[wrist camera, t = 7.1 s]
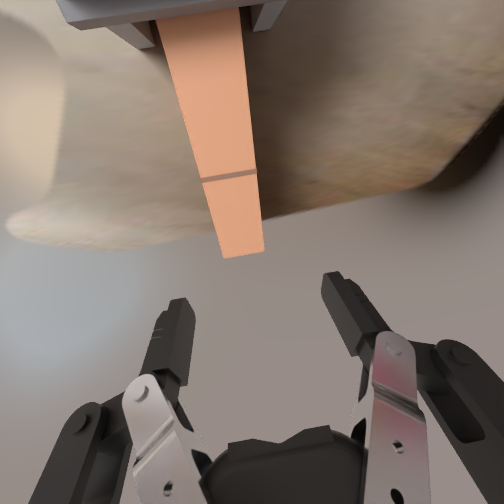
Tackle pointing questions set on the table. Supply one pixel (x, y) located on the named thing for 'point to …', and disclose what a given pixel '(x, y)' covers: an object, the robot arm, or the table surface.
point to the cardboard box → (217, 120)
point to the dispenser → (156, 14)
